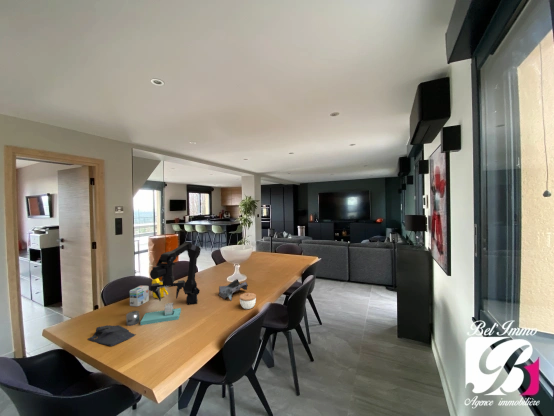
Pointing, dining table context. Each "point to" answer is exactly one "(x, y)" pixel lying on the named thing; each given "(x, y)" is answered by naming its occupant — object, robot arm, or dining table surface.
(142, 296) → the light bulb box
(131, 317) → the round bit
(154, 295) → the figure statuette
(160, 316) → the bore block
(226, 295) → the dark grey angular piece
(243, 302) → the lidded jar
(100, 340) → the dark slate chunk
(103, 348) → the dining table surface
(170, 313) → the square bit
